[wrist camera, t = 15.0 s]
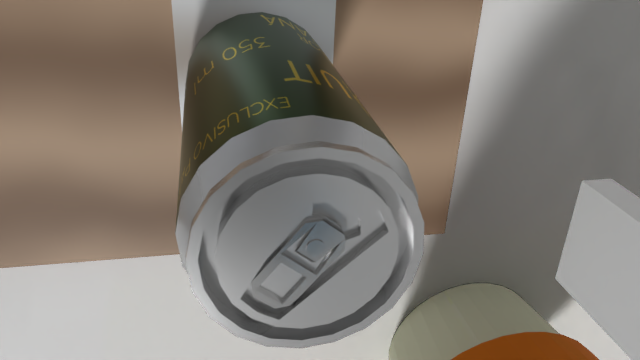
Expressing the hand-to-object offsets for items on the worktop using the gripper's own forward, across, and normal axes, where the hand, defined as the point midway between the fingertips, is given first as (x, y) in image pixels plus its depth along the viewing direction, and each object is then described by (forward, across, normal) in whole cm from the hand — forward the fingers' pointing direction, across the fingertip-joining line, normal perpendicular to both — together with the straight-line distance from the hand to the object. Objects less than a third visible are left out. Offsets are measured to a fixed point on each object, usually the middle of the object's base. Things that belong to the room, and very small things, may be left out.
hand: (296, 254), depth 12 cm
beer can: (+12, 0, 0) cm, 12 cm away
